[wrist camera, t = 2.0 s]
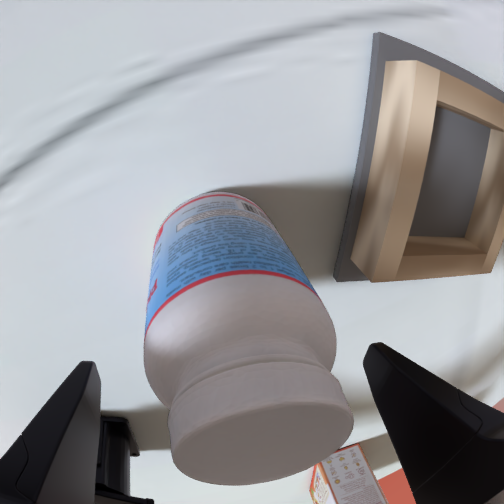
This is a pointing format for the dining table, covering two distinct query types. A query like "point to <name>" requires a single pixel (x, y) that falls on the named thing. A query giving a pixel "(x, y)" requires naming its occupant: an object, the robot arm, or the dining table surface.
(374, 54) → the mat
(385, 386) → the robot arm
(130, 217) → the dining table surface
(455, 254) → the collar
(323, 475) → the cracker box
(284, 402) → the pill bottle
